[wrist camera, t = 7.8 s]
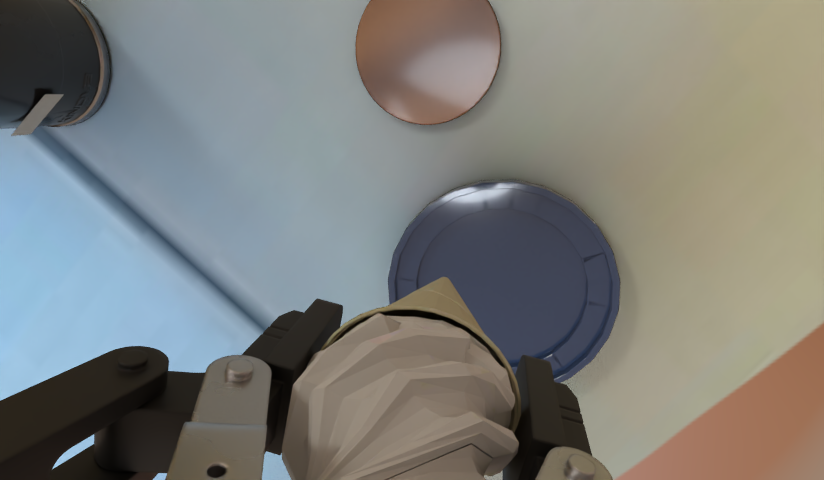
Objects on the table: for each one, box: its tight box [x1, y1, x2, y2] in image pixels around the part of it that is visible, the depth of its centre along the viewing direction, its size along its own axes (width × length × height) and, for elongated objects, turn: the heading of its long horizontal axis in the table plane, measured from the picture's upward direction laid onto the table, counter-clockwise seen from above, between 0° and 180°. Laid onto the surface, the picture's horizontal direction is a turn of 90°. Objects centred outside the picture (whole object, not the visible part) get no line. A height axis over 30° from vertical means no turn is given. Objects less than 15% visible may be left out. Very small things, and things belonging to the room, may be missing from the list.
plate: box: [388, 179, 620, 383], centre depth 34 cm, size 15×15×2 cm
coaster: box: [356, 0, 501, 125], centre depth 31 cm, size 9×9×1 cm
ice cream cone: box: [282, 277, 521, 480], centre depth 13 cm, size 5×5×15 cm
